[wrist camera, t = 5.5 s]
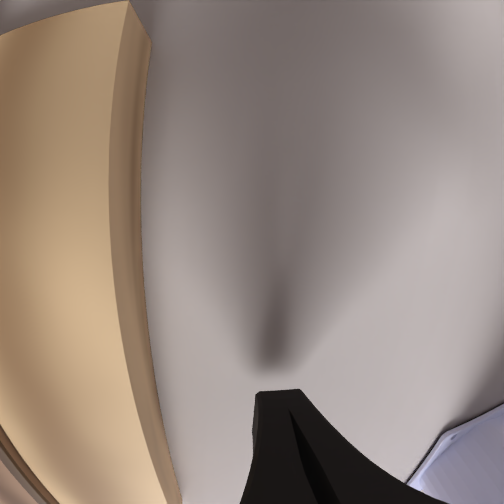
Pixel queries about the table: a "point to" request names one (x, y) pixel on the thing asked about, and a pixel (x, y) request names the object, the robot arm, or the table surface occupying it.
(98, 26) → the oak plank
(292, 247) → the table surface
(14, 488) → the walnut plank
